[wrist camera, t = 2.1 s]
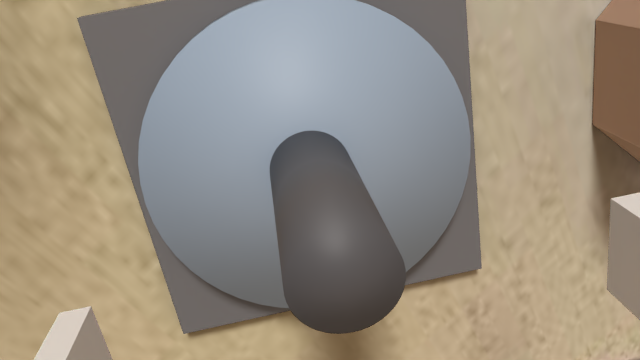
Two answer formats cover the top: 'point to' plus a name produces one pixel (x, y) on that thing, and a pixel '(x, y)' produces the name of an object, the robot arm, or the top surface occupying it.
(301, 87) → the lid
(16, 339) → the top surface
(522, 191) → the top surface
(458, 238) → the mat
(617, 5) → the bowl
